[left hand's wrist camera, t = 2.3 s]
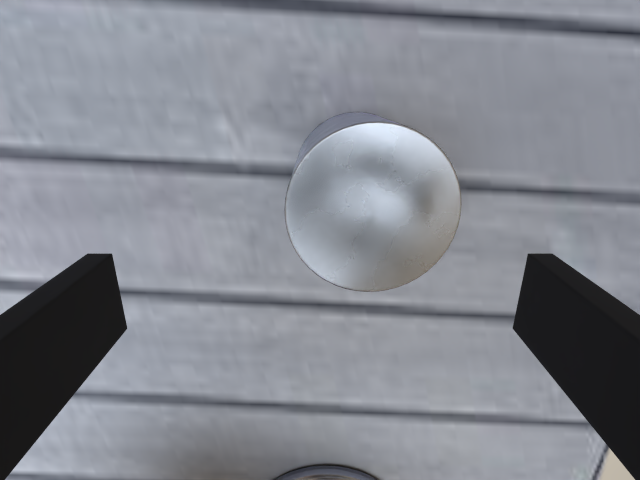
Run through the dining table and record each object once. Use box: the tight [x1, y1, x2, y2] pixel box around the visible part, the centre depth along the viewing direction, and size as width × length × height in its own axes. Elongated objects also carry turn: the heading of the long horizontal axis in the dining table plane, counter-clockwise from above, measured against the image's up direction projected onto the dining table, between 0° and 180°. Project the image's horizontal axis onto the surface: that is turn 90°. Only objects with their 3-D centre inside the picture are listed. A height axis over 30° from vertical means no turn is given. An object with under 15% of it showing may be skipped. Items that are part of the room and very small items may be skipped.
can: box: [285, 112, 461, 292], centre depth 24 cm, size 8×8×10 cm
